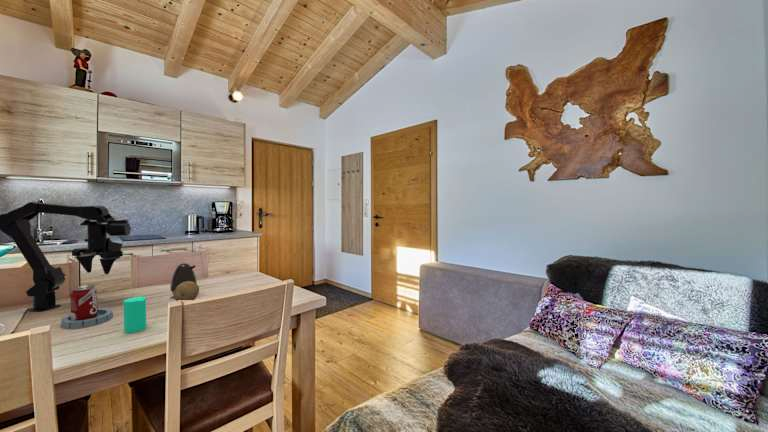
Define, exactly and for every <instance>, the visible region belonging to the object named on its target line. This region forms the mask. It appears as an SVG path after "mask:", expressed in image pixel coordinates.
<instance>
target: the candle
mask: <svg viewBox="0 0 768 432" xmlns="http://www.w3.org/2000/svg"><path fill="white" fill-rule="evenodd" d="M146 328H147V298H146V297H145V296H141V295H140V296H134V297H131V298H127V299H124V300H123V332H124V333H126V334H131V333H137V332H141V331H143V330H145V329H146Z"/></svg>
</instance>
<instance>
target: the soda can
mask: <svg viewBox="0 0 768 432" xmlns="http://www.w3.org/2000/svg"><path fill="white" fill-rule="evenodd" d="M95 287H96V286H95V285H94V284H89V285H88V284H87V285H80V286H75V287H73V288H72V291H71V293H70V295H69V297H70V299H69V300H70V314H71V321H79V320H87V319H92V318H96V317H97V316H98V309H99V308H98V305H99V304H98V303H99V302H98V290H97V288H95Z"/></svg>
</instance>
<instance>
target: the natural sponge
mask: <svg viewBox="0 0 768 432" xmlns="http://www.w3.org/2000/svg"><path fill="white" fill-rule="evenodd" d="M199 286H200V285H198V283H197V284H196V283H195V282H192V281H186V282H183V283H181V284H179V285H178V286H177V287H176V289H175V291H174V294H172V296H173V299H174V300H175V301H177V302H178V300H194V299H195V300H196V299H197V297H198V295H199V294H200V293H199V292H200V287H199ZM195 300H194V301H195Z"/></svg>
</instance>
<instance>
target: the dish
mask: <svg viewBox="0 0 768 432" xmlns="http://www.w3.org/2000/svg"><path fill="white" fill-rule="evenodd" d="M113 313H114V312H113V310H112V309H111V308H106V307H105V308H104V307H102V308H98V316H97V317H96V318H92V319H87V320H79V321H71V313H70V314H67V315H65V316H63V317H61V319H60V324H61V325H60V327H61V328H62V329H68V330H73V329H82V328H89V327H93V326H97V325H101V324H103V323H106V322H107V321H110V320H112V319H113V318H114V317H113V316H114V314H113Z"/></svg>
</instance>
